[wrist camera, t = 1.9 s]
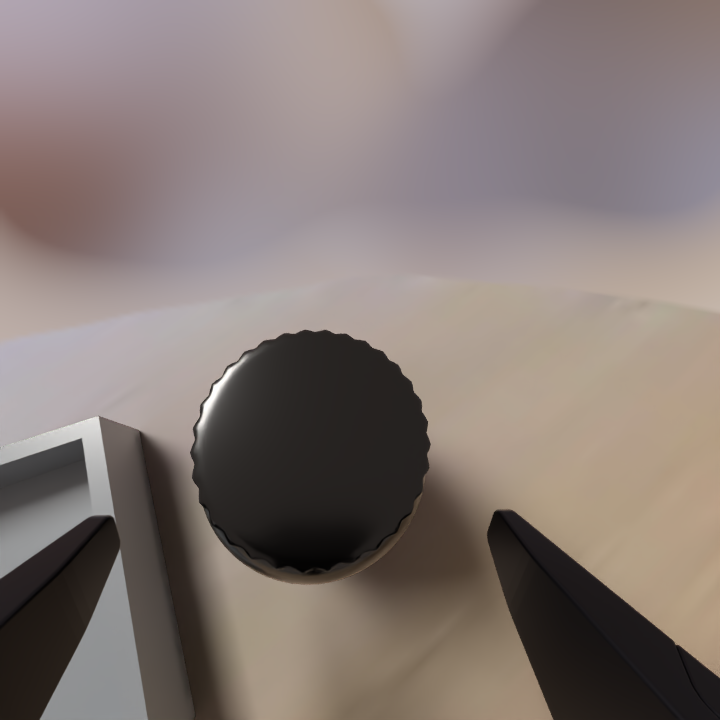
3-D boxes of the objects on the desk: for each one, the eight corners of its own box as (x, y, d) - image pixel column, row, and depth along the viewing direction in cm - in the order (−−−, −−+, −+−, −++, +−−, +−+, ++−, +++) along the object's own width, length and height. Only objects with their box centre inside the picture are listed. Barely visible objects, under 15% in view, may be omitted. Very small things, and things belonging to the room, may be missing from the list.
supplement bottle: (264, 397, 19) (192, 261, 8) (385, 412, 19) (479, 306, 8) (235, 535, 16) (63, 629, 5) (375, 548, 17) (493, 659, 6)
